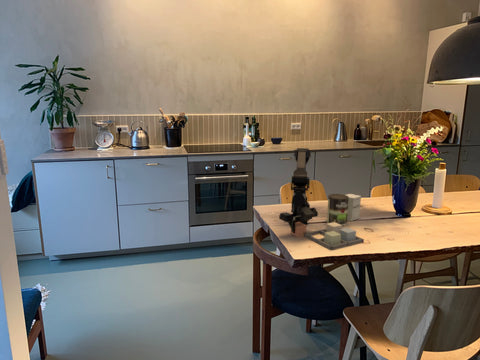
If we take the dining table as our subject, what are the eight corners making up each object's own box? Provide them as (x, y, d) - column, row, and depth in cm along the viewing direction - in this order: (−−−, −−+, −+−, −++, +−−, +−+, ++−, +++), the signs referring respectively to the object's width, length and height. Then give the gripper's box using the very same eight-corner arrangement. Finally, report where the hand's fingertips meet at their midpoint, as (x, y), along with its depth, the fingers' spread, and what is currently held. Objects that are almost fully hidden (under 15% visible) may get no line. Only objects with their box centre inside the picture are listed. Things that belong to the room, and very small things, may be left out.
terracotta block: (290, 233, 185) (290, 223, 183) (299, 231, 187) (299, 221, 186) (297, 236, 180) (297, 226, 179) (305, 234, 183) (305, 224, 181)
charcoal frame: (303, 236, 181) (303, 226, 180) (334, 229, 190) (334, 219, 189) (331, 250, 165) (331, 239, 163) (363, 242, 173) (364, 231, 172)
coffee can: (351, 224, 197) (352, 198, 194) (333, 226, 194) (334, 199, 191) (340, 218, 206) (342, 193, 203) (323, 220, 204) (324, 194, 200)
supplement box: (351, 221, 202) (353, 198, 199) (339, 218, 208) (341, 195, 205) (359, 218, 207) (361, 195, 204) (348, 215, 212) (349, 193, 209)
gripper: (293, 207, 169) (292, 241, 172) (326, 201, 177) (324, 234, 181) (278, 201, 178) (278, 233, 182) (310, 196, 187) (309, 227, 190)
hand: (298, 232), depth 183 cm, fingers closed on terracotta block, 5 cm apart
